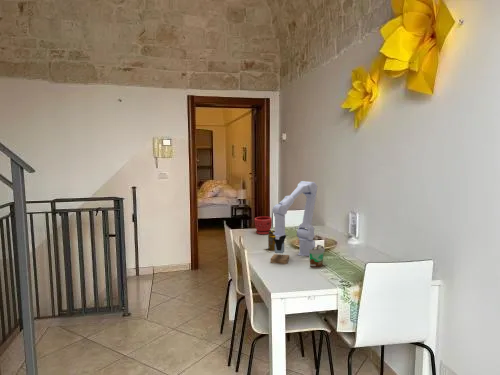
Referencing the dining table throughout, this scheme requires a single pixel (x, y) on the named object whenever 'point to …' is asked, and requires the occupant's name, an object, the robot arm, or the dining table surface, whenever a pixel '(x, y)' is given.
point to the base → (280, 259)
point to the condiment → (271, 242)
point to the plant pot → (263, 225)
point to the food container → (316, 256)
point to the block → (279, 250)
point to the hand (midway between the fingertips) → (280, 249)
